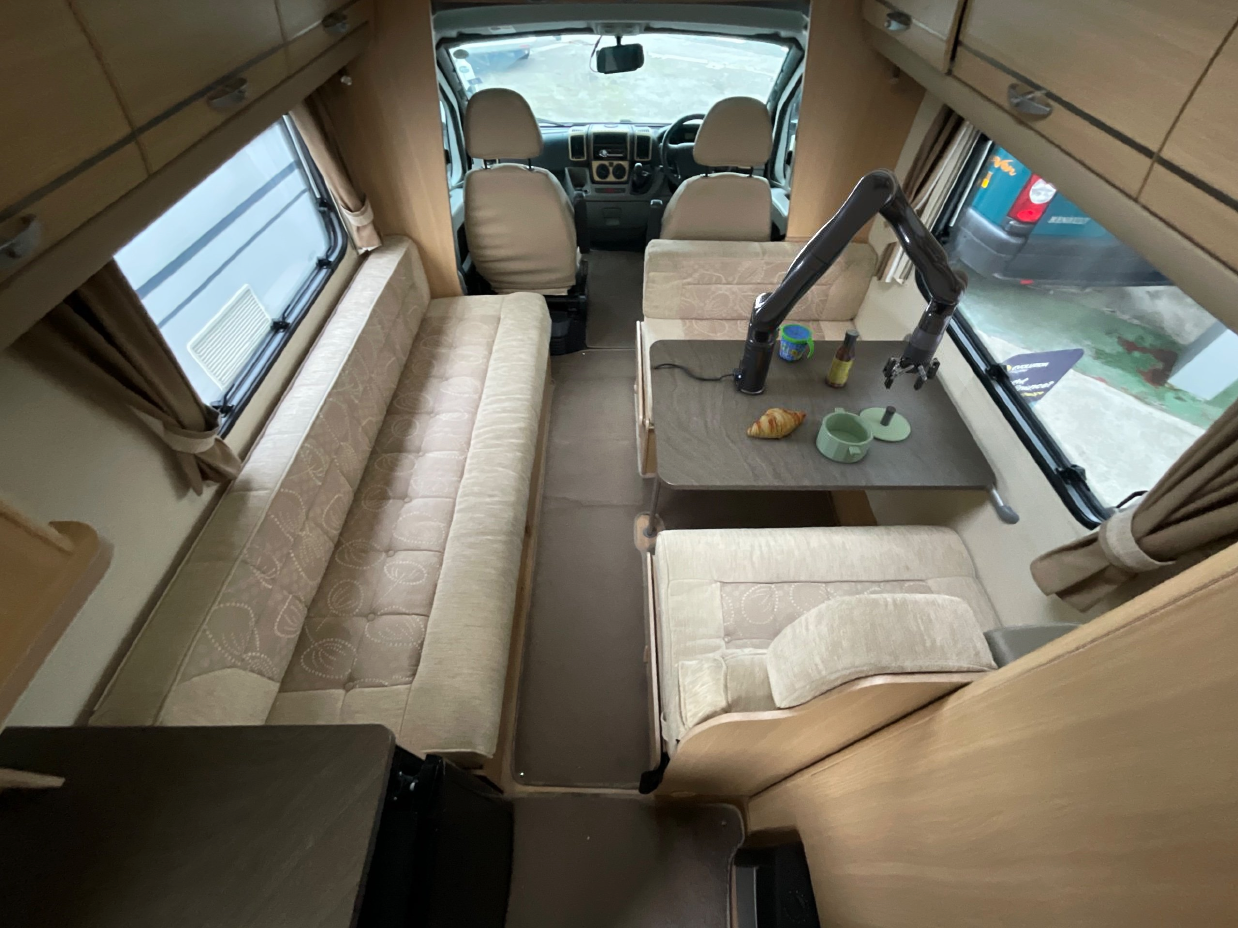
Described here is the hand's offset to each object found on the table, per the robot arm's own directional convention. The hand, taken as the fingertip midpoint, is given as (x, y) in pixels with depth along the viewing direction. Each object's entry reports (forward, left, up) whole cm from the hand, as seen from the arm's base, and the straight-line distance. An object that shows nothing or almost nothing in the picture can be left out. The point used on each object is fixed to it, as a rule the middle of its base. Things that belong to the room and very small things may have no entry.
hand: (901, 388), depth 166 cm
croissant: (-35, -3, -16) cm, 38 cm away
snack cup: (-23, +37, -16) cm, 46 cm away
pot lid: (0, 0, -15) cm, 15 cm away
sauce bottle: (-10, +22, -16) cm, 29 cm away
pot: (-16, -10, -15) cm, 24 cm away
